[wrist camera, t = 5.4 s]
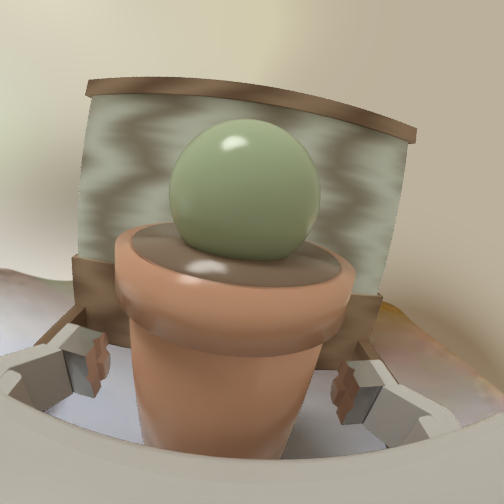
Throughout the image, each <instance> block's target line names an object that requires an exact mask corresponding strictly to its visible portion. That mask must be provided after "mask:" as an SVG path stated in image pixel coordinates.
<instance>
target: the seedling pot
mask: <svg viewBox="0 0 504 504" xmlns="http://www.w3.org/2000/svg"><path fill="white" fill-rule="evenodd" d="M168 197H169V207H170V211H171V216H172V218H173V221H174V222H165V223H155V224H148V225H143V226H139V227H135V228H132V229H129V230H127V231H125V232H123V233H122V234H120V235H119V236H118V238H117V239H116V242H115V293H116V299H117V301H118V303H119V305H120V307H121V308H122V309H123V311H124V312H125V313H126V315H128V316H129V322H130V340H131V354H132V366H133V376H134V385H135V393H136V400H137V408H138V414H139V421H140V427H141V432H142V438H143V443H144V445H145V446H150V447H155V448H160V449H165V450H171V451H176V452H183V453H189V454H197V455H205V456H214V457H225V458H239V459H266V460H280V458H281V456H282V454H283V451H284V449H285V447H286V444H287V442H288V440H289V437H290V435H291V432H292V430H293V427H294V425H295V422H296V419H297V417H298V414H299V412H300V409H301V406H302V404H303V401H304V398H305V395H306V392H307V390H308V387H309V384H310V381H311V378H312V375H313V372H314V369H315V366H316V363H317V360H318V357H319V354H320V351H321V347H322V344H323V343H324V342H326V341H328V340H329V339H331V338H332V337H333V336H334V335H335V334H336V333H337V332H338V331H339V329H340V328H341V326H342V323H343V320H344V317H345V314H346V310H347V307H348V303H349V300H350V296H351V292H352V289H353V285H354V281H355V277H356V272H355V269H354V268H353V266H352V265H351V264H350V263H349V262H348V261H347V260H345V259H344V258H343V257H341V256H339V255H338V254H336V253H334V252H332V251H330V250H328V249H326V248H324V247H321V246H319V245H316V244H314V243H311V242H308V241H305V239H306V238H307V237H308V235H309V233H310V232H311V230H312V228H313V226H314V224H315V221H316V219H317V216H318V212H319V208H320V200H321V187H320V181H319V176H318V172H317V169H316V166H315V164H314V162H313V160H312V158H311V156H310V155H309V153H308V152H307V150H306V149H305V148H304V146H303V145H302V144H301V143H300V142H299V141H298V140H297V139H296V138H295V137H294V136H292V135H291V134H290V133H288V132H287V131H285V130H284V129H282V128H280V127H278V126H276V125H274V124H271V123H268V122H265V121H260V120H254V119H236V120H229V121H225V122H222V123H218V124H216V125H214V126H212V127H209V128H208V129H206V130H204V131H203V132H201V133H200V134H198V135H197V136H196V137H195V138H194V139H192V140H191V141H190V142H189V144H188V145H187V146H186V147H185V148H184V150H183V151H182V152H181V154H180V155H179V157H178V159H177V161H176V163H175V165H174V168H173V171H172V174H171V178H170V183H169V195H168Z"/></svg>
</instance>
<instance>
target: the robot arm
mask: <svg viewBox="0 0 504 504" xmlns="http://www.w3.org/2000/svg"><path fill="white" fill-rule="evenodd" d="M107 345H108V336H107V334H106V333H105V332H101V331H98V330H94V329H90V328H87V327H83V326H79V325H76V324H72V323H67V324H66V325H65V326H64V327H63V328H62V329H61V330H60V331H59V332H58V333H57V334H56V335H55V336H54V338H53V339H52V340H51V341H50V342H49V343H48V344H47V345H46V344H40V345H37V346H34V347H30V348H27V349H24V350H20V351H17V352H14V353H10V354H7V355H4V356H0V504H504V411H502V412H500V413H498V414H496V415H494V416H491V417H489V418H487V419H484V420H482V421H479V422H477V423H474V424H472V425H469V426H466V427H463V428H462V426H461V425H460V424H459V422H458V421H457V420H456V418H455V417H454V416H453V414H452V413H451V412H450V410H449V409H447V408H445V407H443V406H441V405H439V404H437V403H435V402H433V401H431V400H430V399H428V398H426V397H424V396H422V395H420V394H418V393H416V392H414V391H413V390H411V389H409V388H407V387H405V386H403V385H398V384H397V382H396V381H395V379H394V378H393V377H392V375H391V374H390V372H389V371H388V369H387V368H386V367H385V365H384V364H383V362H382V361H381V360H379V359H378V360H365V361H342V362H341V363H340V365H339V367H338V372H339V375H338V376H337V377H336V378H335V379H334V380H333V383H332V386H331V399H332V402H333V404H334V405H336V406H337V407H338V410H337V412H336V413H337V415H338V418H339V420H340V423H341V425H350V424H362V425H364V426H365V427H366V428H367V429H368V430H369V431H371V432H372V433H373V434H374V435H375V436H376V437H378V438H379V439H380V440H381V441H382V442H383V443H385V444H386V445H387V446H388V447H389V448H388V449H383V450H377V451H372V452H366V453H359V454H352V455H344V456H335V457H324V458H310V459H283V460H266V459H239V458H225V457H214V456H205V455H197V454H189V453H183V452H176V451H171V450H165V449H160V448H155V447H150V446H145V445H141V444H137V443H133V442H129V441H125V440H121V439H117V438H114V437H110V436H107V435H104V434H100V433H97V432H94V431H91V430H88V429H85V428H82V427H79V426H76V425H74V424H71V423H68V422H66V421H63V420H61V419H58V418H56V417H53V416H51V415H48V414H46V413H44V412H42V411H44V410H46V409H48V408H49V407H51V406H53V405H54V404H56V403H58V402H60V401H61V400H63V399H65V398H66V397H68V396H70V395H71V394H73V392H74V393H77V394H81V395H84V396H88V397H91V398H95V397H96V395H97V393H98V391H99V389H100V388H101V382H100V381H101V380H103V379H105V378H106V377H107V375H108V373H109V369H110V353H109V352H108V351H107V349H106V346H107Z"/></svg>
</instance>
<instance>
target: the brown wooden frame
mask: <svg viewBox="0 0 504 504" xmlns="http://www.w3.org/2000/svg"><path fill="white" fill-rule="evenodd" d="M85 95H86V96H88V97H90V98H92V100H91V105H90V110H89V116H88V121H87V127H86V134H85V140H84V148H83V156H82V166H81V175H80V188H79V206H78V254H76V255H75V256H73V257H72V272H73V273H72V274H73V287H74V298H75V305H74V306H73V307H72V308H71V309H70V310H69V311H68V312H67V313H66V314H65V315H64V316H63V317H62V318H61V319H60V320H59V321H58V322H57V323H55V324H54V325H53V326H52V327H51V328H50V329H49V330H48V331H47V332H46V333H45V334H44V335H43V336H42V337H41V338H40V339H39V340H38V341H37V342H36V343H35V344H34V346H37V345H40V344H46V345H47V344H48V343H49V342H50V341H51V340H52V339H53V338H54V336H55V335H56V334H57V333H58V332H59V331H60V330H61V329H62V328H63V327H64V326H65V325H66V324H67V323H72V324H76V325H79V326H83V327H87V328H90V329H94V330H98V331H101V332H105V333H106V334H107V336H108V343H109V344H113V345H118V346H122V347H127V348H131V340H130V322H129V316H128V315H126V313H125V312H124V311H123V309H122V308H121V307H120V305H119V303H118V301H117V299H116V293H115V242H116V239H117V238H118V236H119V235H120V234H122V233H123V232H125V231H127V230H129V229H132V228H135V227H139V226H143V225H148V224H155V223H165V222H174V221H173V218H172V216H171V211H170V207H169V197H168V195H169V183H170V178H171V174H172V171H173V168H174V165H175V163H176V161H177V159H178V157H179V155H180V154H181V152H182V151H183V150H184V148H185V147H186V146H187V145H188V144H189V142H190V141H191V140H192V139H194V138H195V137H196V136H197V135H198V134H200V133H201V132H203V131H204V130H206V129H208V128H209V127H212V126H214V125H216V124H218V123H222V122H225V121H229V120H236V119H254V120H260V121H265V122H268V123H271V124H274V125H276V126H278V127H280V128H282V129H284V130H285V131H287V132H288V133H290V134H291V135H292V136H294V137H295V138H296V139H297V140H298V141H299V142H300V143H301V144H302V145H303V146H304V148H305V149H306V150H307V152H308V153H309V155H310V156H311V158H312V160H313V162H314V164H315V166H316V169H317V172H318V176H319V181H320V187H321V200H320V208H319V212H318V216H317V219H316V221H315V224H314V226H313V228H312V230H311V232H310V233H309V235H308V237H307V238H306V239H305V241H308V242H311V243H314V244H316V245H319V246H321V247H324V248H326V249H328V250H330V251H332V252H334V253H336V254H338V255H339V256H341V257H343V258H344V259H345V260H347V261H348V262H349V263H350V264H351V265H352V266H353V268H354V269H355V272H356V277H355V281H354V285H353V289H352V292H351V296H350V300H349V303H348V307H347V310H346V314H345V317H344V320H343V323H342V326H341V328H340V329H339V331H338V332H337V333H336V334H335V335H334V336H333V337H332V338H331V339H329V340H328V341H326V342H324V343H323V344H322V347H321V351H320V354H319V357H318V360H317V363H316V366H315V369H335V370H338V367H339V365H340V363H341V362H342V361H365V360H378V359H379V360H381V361H382V362H383V360H382V359H381V358H380V356H379V355H378V353H377V352H376V351H375V349H374V348H373V346H372V345H371V344H370V342H369V338H370V335H371V332H372V329H373V327H374V324H375V321H376V318H377V315H378V312H379V309H380V305H381V302H382V299H383V296H381V295H380V294H379V293H378V290H379V286H380V283H381V279H382V276H383V272H384V268H385V264H386V260H387V257H388V253H389V248H390V244H391V240H392V235H393V231H394V226H395V222H396V217H397V212H398V206H399V200H400V196H401V189H402V183H403V177H404V171H405V163H406V155H407V147H408V144H414V143H415V142H416V133H417V128H415V127H412V126H410V125H407V124H404V123H402V122H399V121H396V120H394V119H391V118H388V117H385V116H382V115H380V114H376V113H373V112H370V111H367V110H364V109H361V108H357V107H354V106H351V105H348V104H344V103H340V102H337V101H333V100H329V99H325V98H321V97H317V96H313V95H308V94H304V93H299V92H295V91H290V90H284V89H279V88H273V87H268V86H261V85H255V84H248V83H239V82H232V81H223V80H212V79H200V78H183V77H182V78H181V77H122V78H106V79H94V80H89V81H88V85H87V89H86V94H85ZM34 346H33V347H34ZM383 364H384V365H385V363H384V362H383ZM385 367H386V368H387V366H386V365H385ZM387 369H388V368H387ZM388 371H389V372H390V370H389V369H388ZM390 374H391V375H392V373H391V372H390ZM392 377H393V378H394V376H393V375H392ZM394 379H395V378H394ZM395 381H396V382H397V380H396V379H395ZM397 384H398V385H399V383H398V382H397ZM386 447H387V449H388V448H389V447H388V446H387V445H386Z"/></svg>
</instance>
